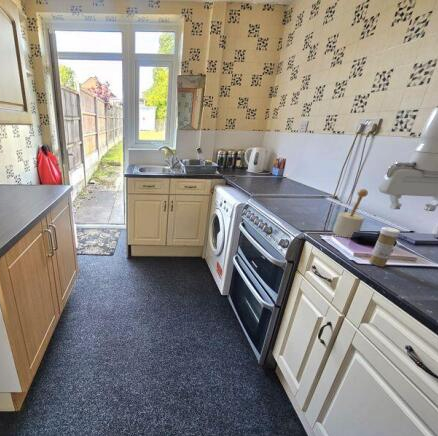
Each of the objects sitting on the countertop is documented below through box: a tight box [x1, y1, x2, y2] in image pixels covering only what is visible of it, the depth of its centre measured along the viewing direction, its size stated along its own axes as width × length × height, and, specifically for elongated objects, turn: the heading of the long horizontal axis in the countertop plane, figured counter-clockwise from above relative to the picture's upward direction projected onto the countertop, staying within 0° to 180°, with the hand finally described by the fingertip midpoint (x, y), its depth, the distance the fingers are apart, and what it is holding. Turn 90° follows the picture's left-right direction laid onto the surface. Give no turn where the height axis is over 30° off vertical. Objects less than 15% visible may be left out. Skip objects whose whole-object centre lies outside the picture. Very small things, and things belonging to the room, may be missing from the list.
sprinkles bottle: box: [368, 226, 401, 268], centre depth 85 cm, size 5×5×14 cm
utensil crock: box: [332, 188, 369, 239], centre depth 106 cm, size 9×9×22 cm
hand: (411, 209), depth 74 cm, fingers open, 8 cm apart
